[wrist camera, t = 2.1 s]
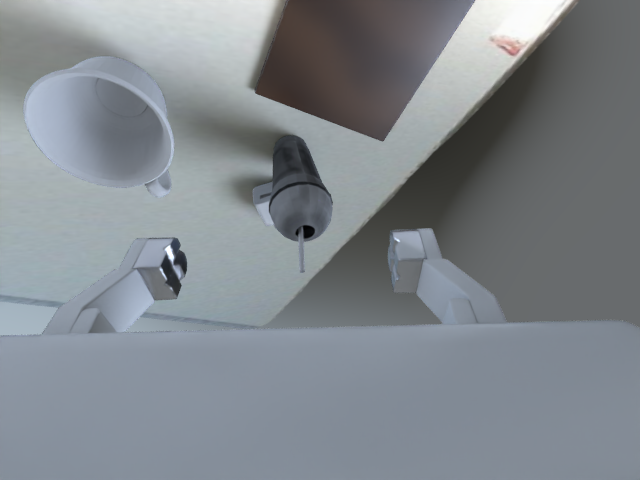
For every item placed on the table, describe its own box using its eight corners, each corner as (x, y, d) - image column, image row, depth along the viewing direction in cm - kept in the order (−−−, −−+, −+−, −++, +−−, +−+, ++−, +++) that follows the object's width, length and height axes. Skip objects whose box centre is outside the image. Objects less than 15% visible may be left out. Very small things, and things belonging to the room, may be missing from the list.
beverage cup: (328, 150, 50) (362, 262, 36) (289, 181, 52) (307, 296, 39) (292, 114, 45) (316, 227, 32) (251, 150, 48) (257, 268, 34)
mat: (333, -132, 30) (334, -132, 29) (485, -23, 37) (489, -22, 37) (254, 90, 42) (254, 93, 42) (381, 138, 50) (383, 141, 49)
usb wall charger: (279, 179, 52) (281, 197, 49) (293, 212, 57) (296, 230, 54) (252, 187, 52) (253, 206, 50) (269, 220, 57) (270, 238, 55)
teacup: (133, 168, 47) (117, 222, 40) (31, 56, 36) (-16, 104, 30) (217, 134, 45) (214, 184, 39) (136, 6, 35) (112, 45, 28)
